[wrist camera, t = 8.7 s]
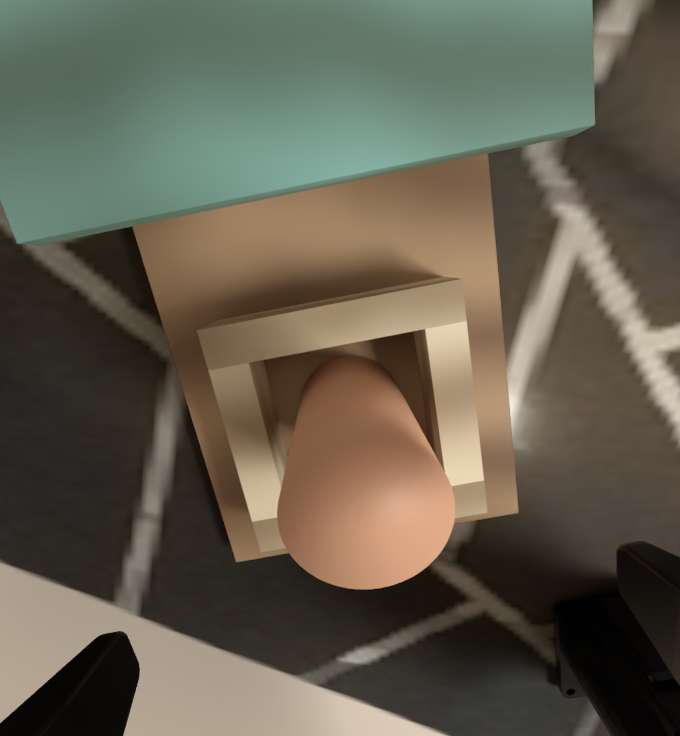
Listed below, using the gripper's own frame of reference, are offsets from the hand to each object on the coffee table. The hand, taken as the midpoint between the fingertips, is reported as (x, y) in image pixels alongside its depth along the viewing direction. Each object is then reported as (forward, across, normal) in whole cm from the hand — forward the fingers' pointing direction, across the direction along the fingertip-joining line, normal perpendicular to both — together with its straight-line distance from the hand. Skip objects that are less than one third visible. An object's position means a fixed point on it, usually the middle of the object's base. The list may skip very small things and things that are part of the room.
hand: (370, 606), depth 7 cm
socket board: (+12, 0, -3) cm, 12 cm away
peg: (+11, 0, 0) cm, 11 cm away
